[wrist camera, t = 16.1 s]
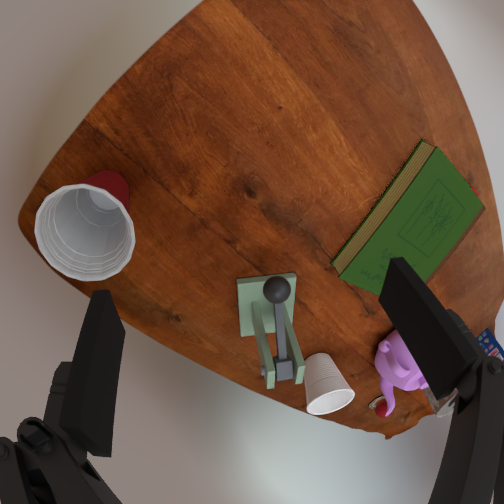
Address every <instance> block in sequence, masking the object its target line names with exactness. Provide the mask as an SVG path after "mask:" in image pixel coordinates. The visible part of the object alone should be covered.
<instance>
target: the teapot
mask: <svg viewBox="0 0 504 504" xmlns="http://www.w3.org/2000/svg"><path fill="white" fill-rule="evenodd" d="M375 367H376V369H377V371H378V372H379V374H380V375H381V377H380V388H381V391H382V393H383V395H384V397H385V399H386V401H387V412H386V415H385V416H388V415H389V414H390V413H391V412H392V411H393V409H394V407H395V399H394V395H393V386H396V387H398V388H400V389H403V390H406V391H411V390H415V389H417V388H420V389H424V388H427V387H428V386H429V385H428V384H427V382H426V380H425V378H424V376H423V375H422V373H421V371H420V369H419V367H418V366H417V364H416V362H415V360H414V359H413V357H412V355H411V353H410V352H409V350H408V348H407V347H406V345H405V343H404V341H403V340H402V338H401V336H400V335H399V333H398V331H397V330H394V331H393V332H392V333H390V334H389V335H388V336H387V337H386V338H385V339H384V340H383V341H381V342H380V343H379V345H378V351H377V353H376V357H375Z"/></svg>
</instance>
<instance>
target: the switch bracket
mask: <svg viewBox="0 0 504 504" xmlns="http://www.w3.org/2000/svg"><path fill="white" fill-rule="evenodd" d="M272 276H282V277H284V278H285V279H287V280H288V282H289V283H290V286H291V293H290V296H289V298H288V299H287V300H286V301H285V302H283V311H284V325H285V338H286V353H287V354H288V355H289V357H290V358H291V360H292V366H293V378H294V381H295V384H299V383H302V380H303V375H304V370H305V361H304V359H303V357H302V354H301V351H300V348H299V345H298V342H297V339H296V336H295V333H294V330H293V327H292V319H293V309H294V298H295V287H296V275H295V273H285V274H277V275H268V276H260V277H251V278H242V279H237V294H238V309H239V323H240V334H241V337H242V336H251V335H255V337H256V341H257V346H258V351H259V355H260V360H261V364H262V366H260V369H261V375H262V376H264V378H265V382H266V387H267V389H270V388H274V381H275V368H274V364H273V360H272V356H271V352H270V348H269V344H268V340H267V336H266V333H273V332H276V331H275V319H274V306H273V303H271V302H269V301H268V300H267V299H266V298H265V297H264V294H263V285H264V283H265V282H266V280H267V279H268V278H270V277H272Z"/></svg>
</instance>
